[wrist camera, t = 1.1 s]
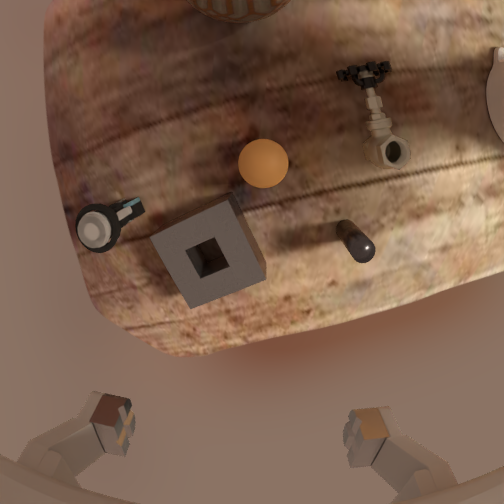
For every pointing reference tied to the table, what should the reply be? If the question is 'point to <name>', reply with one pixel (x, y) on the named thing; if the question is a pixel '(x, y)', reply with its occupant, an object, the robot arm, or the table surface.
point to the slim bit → (355, 241)
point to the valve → (378, 118)
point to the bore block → (193, 261)
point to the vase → (238, 9)
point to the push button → (105, 223)
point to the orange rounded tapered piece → (263, 163)
